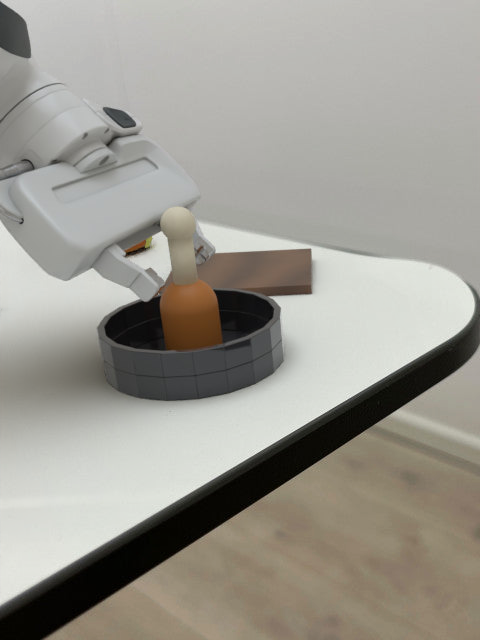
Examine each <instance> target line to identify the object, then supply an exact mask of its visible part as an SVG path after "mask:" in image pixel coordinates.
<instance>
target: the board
mask: <svg viewBox="0 0 480 640" xmlns="http://www.w3.org/2000/svg"><path fill="white" fill-rule="evenodd" d="M196 267H197V275H198V279H200V280H202V281H204V282H205V283H207V284H208V285H209V286H210V287H211V288H229V289H241V290H246V291H251V292H257V293H260V294H262V295H265V296H267V297H279V296H281V297H282V296H297V295H298V296H301V295H302V296H303V295H313V253H312V248H311V247H310V248H293V249H292V248H291V249H274V250H273V249H272V250H271V249H270V250H252V251H250V250H249V251H233V252H231V251H230V252H215V253H214V255H213V256H212V257H211V258H210V259H209V260H208V261H207V262H205V263H204V264H202V265H200V266H199V265H196ZM170 270H171V271H170V272H169V274H168V276H167V278H166V280H164V282H165V287H164V288H163V289H162V290H161V291H160V293H159V294H161V293H163V292H164V290H165V289H166V287H167V286H168V285H169V284H171V283H172V282H173V274H172V269H170Z"/></svg>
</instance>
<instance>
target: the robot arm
mask: <svg viewBox="0 0 480 640" xmlns="http://www.w3.org/2000/svg"><path fill="white" fill-rule="evenodd" d="M31 46H32V45H31V40H30V35H29V30H28V25H27V21H26V19H24V18H23V17H22V15H20V14H19V13H18V12H16V11H15V10H14V9H12V8H11V7H10V6H8V5H6V4H5V3H3V1H2V0H0V222H1V224H2V225H3V227H4V228H5V229H6V231H7V232H8V233H9V235H10V236H11V237H12V238H13V239H14V240H15V242H16V243H17V244H18V245H19V246H20V247H21V248H22V249H23V251H24V252H25V253H26V254H27V255H28V256H29V257H30V258H31V259H32V261H34V262H35V263H36V264H37V266H38V267H39V268H41V270H42V271H44V272H45V273H46V274H47V275H48V276H51V277H53V278H55V279H58V280H60V281H63V282H68V281H71V280H73V279H74V278H76V277H78V276H80V275H82V274H84V273H86V272H88V271H89V270H91V269H93V270H94V271H96V273H97V274H99V276H100V277H102V278H103V279H105V280H107V281H110V282H112V283H115V284H117V285H119V286H122V287H124V288H126V289H129V290H130V291H131V292H132V293H134V295H136V296H137V297H138V298H139V299H141V300H142V301H145V302H147V301H150V300H151V299H153V298H154V297H155V296H157V295H158V294H159V293H160V291H161V290H162V289H163V288H164V287H165V280H164V278H162V277H161V276H159V275H158V272H156V271H155V270H154V269H153V268H152V267H151V266H150V267H148V268H146V269H145V268H143V267H141V266H140V265H138V264H136V263H135V262H133V261H132V260H130V259H128V258H126V256H127V253H125V252H124V251H125V250H127V249H129V248H131V247H133V246H135V245H136V244H138V243H140V242H142V241H144V240H146V239H148V238H150V237H151V236H152V237H153V236H156V235H157V234H159V233H161V232H162V230H161V226H160V221H161V217H162V215H163V213H164V212H165V211H166V210H168V209H169V208H172V207H177V206H179V207H183V208H186V209H187V210H189V211H190V212H191V211H192V210H193V209H194V207H195V206H196V205H197V204H198V202H199V201H200V200H201V197H202V196H201V192H200V189H199V187H198V185H197V184H196V182H195V180H193V178H192V177H191V176H190V175H189V174H188V173H187V172H186V171H185V169H184V168H183V167H182V166H181V165H180V164H179V163H178V162H177V161H176V160H175V159H174V158H173V157H172V156H171V154H169V153H168V152H167V151H166V150H165V149H164V148H163V147H162V146H161V145H160V144H159V143H158V142H156V141H155V140H154V139H152V138H150V137H149V136H147V135H144V134H140V133H141V131H142V129H143V123H142V122H141V121H140V120H139V119H138V117H136V116H135V115H134V114H133V113H132V112H130V111H128V110H126V109H122V108H117V107H116V108H115V107H111V106H106V105H103V104H99V103H97V102H94V101H92V100H91V99H87V98H85V97H83V98H80V97H79V96H78V95H77V94H76V93H75V92H74V91H73V90H72V89H71V88H70V87H69V86H68V85H67V84H66V83H65V82H63V81H62V80H60V79H59V78H57V77H56V76H53V75H51V74H50V73H49V72H47V71H46V70H45V69H44V68H43V67H41V66H40V65H39V63H38V62H37V61H36V59H35V58H34V55H33V53H32V47H31ZM194 218H195V221H196V229H195V232H194V234H193V235H192V236H193V244H194V252H195V260H196V265H199V266H200V265H202V264H204V263H205V262H207V261H208V260H209V259H210V258H211V257H212V256H213V255H214V253H216V250H217V249H216V247H215V246H214V244H213V243H211V242H210V241H209V240H208V238H206V237H205V236H204V233H203V231H202V229H201V226H200V225H199V222H198V221H197V219H196V217H195V216H194Z"/></svg>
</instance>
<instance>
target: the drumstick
mask: <svg viewBox="0 0 480 640" xmlns="http://www.w3.org/2000/svg"><path fill="white" fill-rule="evenodd" d="M194 217H195V215H194V214H193V213H192V212H191V211H189V210H187V209H186V208H183V207H179V206H177V207H172V208H169V209H168V210H166V211H165V212H164V213H163V215H162V217H161V221H160V226H161V230H162V231H161V232H162V234H163V235H164V237H166V238H167V246H168V252H169V260H170V268H171V270H172V274H173V282H172V283H171V284H169V285H168V286H167V287H166V289H165V290H164V292H163V294H162V296H161V300H160V312H161V319H162V325H163V332H164V338H165V345H166V351H170V350H189V349H197V348H202V347H208V346H214V345H220V344H223V341H222V332H221V324H220V316H219V307H218V300H217V297H216V294H215V292H214V291H213V289H212V288H211V287H210V286H209V285H208V284H207V283H205V282H204V281H202V280H200V279H198V275H197V267H196V260H195V252H194V244H193V236H192V235H193V234H194V232H195V229H196V221H195V218H196V217H195V218H194Z"/></svg>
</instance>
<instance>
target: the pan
mask: <svg viewBox="0 0 480 640" xmlns="http://www.w3.org/2000/svg"><path fill="white" fill-rule="evenodd" d="M212 289H213V291H214V292H215V294H216V297H217V300H218V307H219V316H220V324H221V332H222V341H223V344H220V345H214V346H208V347H202V348H197V349H189V350H170V351H166V345H165V338H164V332H163V325H162V319H161V312H160V300H161V296H162V294H163V293H161V294H158V295H157V296H155V297H154V298H153V299H151V300H150V301H147V302H145V301H142V300H141V299H140V298H139V299H136V300H134V301H131V302H129V303H126V304H124V305H121V306H118V307H117V308H115V309H113V310H112V311H110V313H108V314H106V315H105V316H104V317H102V319H101V321H100V322H99V323H98V325H97V326H96V331H97V337H98V342H99V348H100V354H101V358H102V364H103V368H104V373H105V380H106V382H107V383H108V384H109V385H110V386H111V387H112V388H113V389H115V390H116V391H118V392H120V393H122V394H125V395H127V396H130V397H134V398H138V399H142V400H143V399H144V400H151V401H164V402H165V401H166V402H169V401H170V402H175V401H178V402H179V401H181V402H182V401H192V400H193V401H194V400H200V399H207V398H208V399H209V398H215V397H218V396H223V395H227V394H231V393H235V392H237V391H240V390H244V389H245V388H248V387H250V386H253V385H255V384H257V383H259V382H261V381H263V380H265V379H266V378H268V377H269V376H271V375H272V374H273V373H275V371H277V370H278V369H279V368H280V366H281V365H282V363H283V362H284V359H285V342H284V341H285V339H284V338H285V337H284V329H283V327H284V326H283V316H282V307H281V306H280V305H279V303H278V302H277V301H276V300H275V299H274V298H272V297H270V296H265V295H262V294H260V293H257V292H251V291H246V290H241V289H229V288H212Z"/></svg>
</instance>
